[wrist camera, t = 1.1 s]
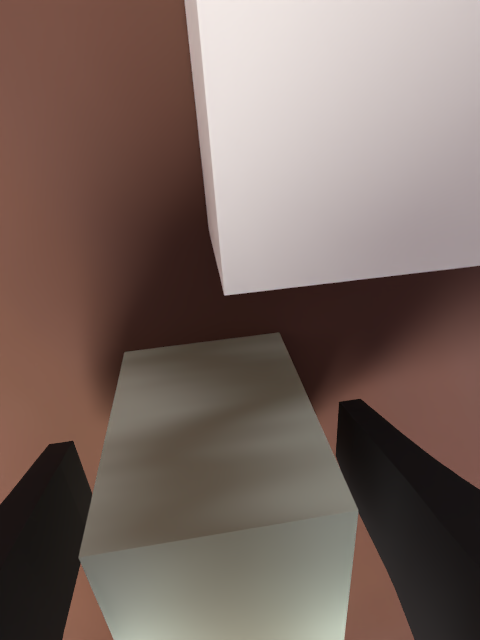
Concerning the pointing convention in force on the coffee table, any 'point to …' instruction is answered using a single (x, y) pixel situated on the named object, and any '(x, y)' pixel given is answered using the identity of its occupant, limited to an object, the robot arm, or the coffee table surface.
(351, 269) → the plinth
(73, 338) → the coffee table surface
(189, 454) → the sage block
